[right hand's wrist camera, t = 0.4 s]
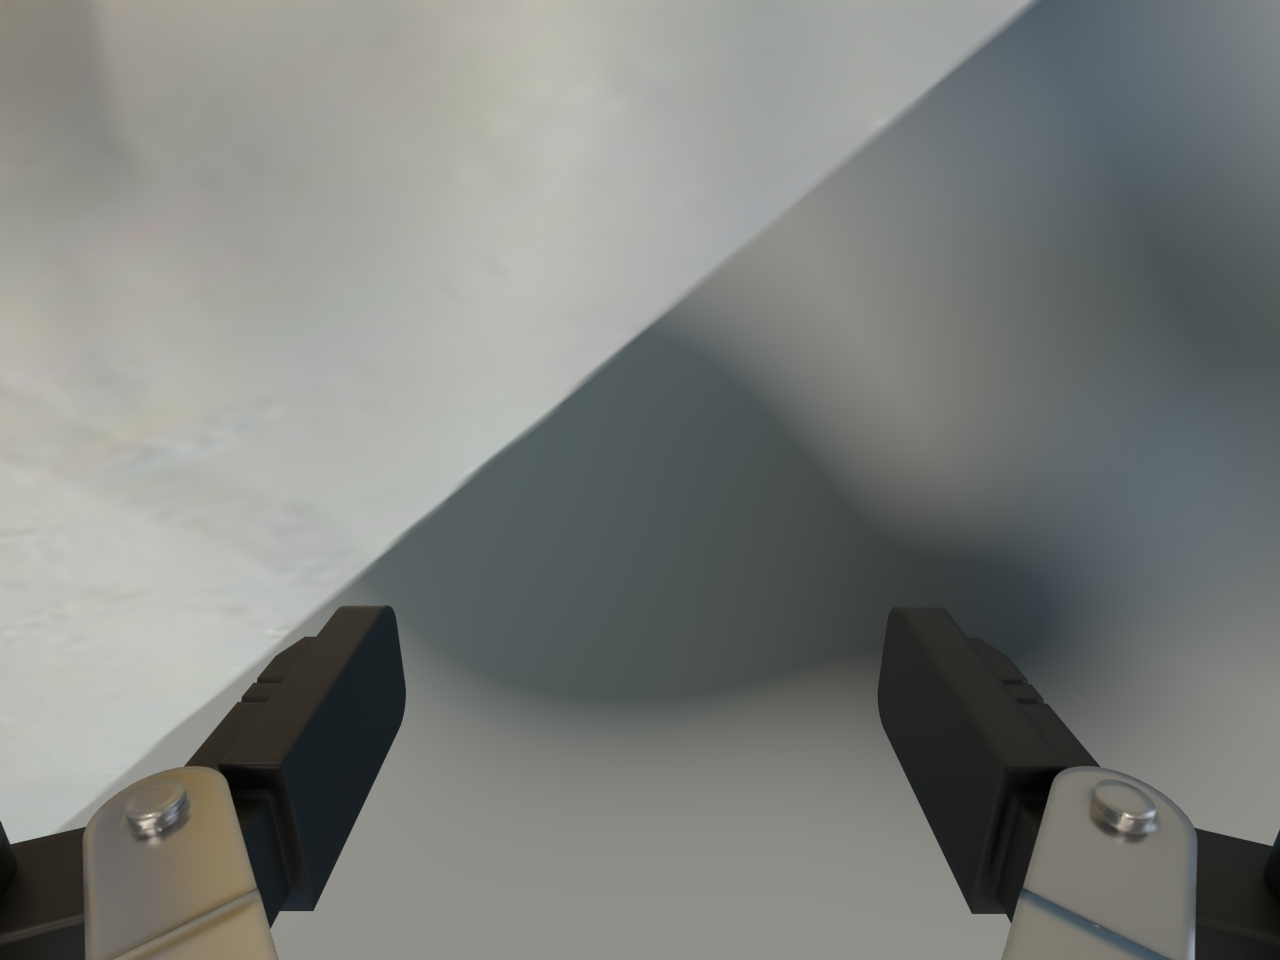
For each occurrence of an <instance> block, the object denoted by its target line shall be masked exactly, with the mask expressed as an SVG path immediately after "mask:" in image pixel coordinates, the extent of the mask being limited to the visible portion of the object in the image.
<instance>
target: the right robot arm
mask: <svg viewBox="0 0 1280 960" xmlns="http://www.w3.org/2000/svg"><path fill="white" fill-rule="evenodd" d="M405 701H406V688H405V679H404V672H403V665H402V658H401V651H400V643H399V636H398V629H397V622H396V616H395V613H394V611H393V609H392V607H390V606H341V607H339V608H338V609H337V611H336V612H335V613H334V615H333V616H332V617H331V618H330V620H329V621H328V622H327V624H326V625H325V626H324V627H323V629H322V630H321V631H320V633H319V634H318V635H317V636H316V637H304V638H302V639H301V640H299V641H298V642H296V643H295V644H293V645H292V646H290V647H289V648H287V649H286V650H284V651H283V652H281V653H280V654H278V655H277V656H275V658H274V659H273V660H272V661H271V662H270V664H269V665H268V666H267V667H266V668H265V670H264V671H263V672H262V673H261V675H260V676H259V677H258V678H257V683H253V684H252V685H251V687H250V688H249V689H248V690H247V691H246V693H245V694H244V695H243V696H242V700H241V702H237V703H236V705H235V706H234V707H233V708H232V709H231V711H230V712H229V713H228V714H227V715H226V717H225V718H224V719H223V720H222V721H221V723H220V724H219V725H218V726H217V728H216V729H215V730H214V731H213V732H212V734H211V735H210V736H209V737H208V738H207V740H206V741H205V742H204V743H203V744H202V746H201V747H200V748H199V749H198V750H197V752H196V753H195V754H194V755H193V756H192V758H191V759H190V760H189V761H188V762H187V764H186V765H185V766H184V767H179V768H174V769H170V770H165V771H162V772H159V773H156V774H153V775H151V776H148V777H146V778H144V779H141V780H139V781H138V782H136V783H134V784H132V785H130V786H128V787H127V788H125V789H123V790H122V791H120V792H119V793H117V794H116V795H115V796H113V797H112V798H111V799H109V800H108V801H107V802H106V803H105V804H104V805H103V806H102V807H101V808H99V810H98V811H97V812H96V813H95V814H94V815H93V817H92V818H91V820H90V821H89V823H88V824H87V826H86V827H83V828H79V829H75V830H71V831H66V832H62V833H58V834H53V835H49V836H45V837H40V838H36V839H32V840H27V841H23V842H19V843H15V844H10V843H9V840H8V838H7V835H6V833H5V831H4V828H3V826H2V823H1V821H0V960H279V959H278V955H277V952H276V948H275V945H274V941H273V938H272V934H271V931H270V929H271V927H272V925H273V923H274V921H275V919H276V917H277V915H278V913H279V911H314V908H315V906H316V904H317V902H318V900H319V898H320V896H321V894H322V891H323V889H324V887H325V885H326V883H327V881H328V879H329V876H330V874H331V872H332V870H333V868H334V866H335V864H336V862H337V860H338V857H339V855H340V853H341V851H342V849H343V847H344V845H345V843H346V840H347V838H348V836H349V834H350V832H351V830H352V828H353V826H354V824H355V821H356V819H357V817H358V815H359V813H360V811H361V809H362V806H363V804H364V802H365V800H366V798H367V796H368V794H369V792H370V789H371V787H372V785H373V783H374V781H375V779H376V777H377V775H378V773H379V770H380V768H381V766H382V764H383V762H384V760H385V758H386V756H387V753H388V751H389V749H390V747H391V745H392V743H393V741H394V739H395V736H396V734H397V732H398V730H399V728H400V725H401V722H402V719H403V715H404V710H405ZM878 707H879V713H880V718H881V722H882V725H883V728H884V730H885V732H886V734H887V736H888V739H889V741H890V743H891V745H892V747H893V749H894V751H895V753H896V755H897V757H898V760H899V762H900V764H901V766H902V768H903V770H904V772H905V774H906V776H907V778H908V780H909V783H910V785H911V787H912V789H913V791H914V793H915V795H916V797H917V799H918V801H919V804H920V806H921V808H922V810H923V812H924V814H925V816H926V818H927V820H928V822H929V825H930V827H931V829H932V831H933V833H934V835H935V837H936V839H937V841H938V843H939V846H940V848H941V850H942V852H943V854H944V856H945V858H946V860H947V862H948V864H949V866H950V869H951V871H952V873H953V875H954V877H955V879H956V881H957V883H958V885H959V887H960V889H961V892H962V894H963V896H964V898H965V900H966V902H967V904H968V906H969V908H970V911H971V913H972V914H1007V916H1008V918H1009V920H1010V922H1011V927H1010V931H1009V934H1008V938H1007V941H1006V945H1005V948H1004V952H1003V955H1002V959H1001V960H1280V830H1279V833H1278V835H1277V838H1276V840H1275V842H1274V845H1273V846H1269V845H1265V844H1260V843H1256V842H1252V841H1247V840H1243V839H1239V838H1235V837H1230V836H1226V835H1222V834H1217V833H1213V832H1209V831H1205V830H1201V829H1197V828H1194V826H1193V824H1192V823H1191V821H1190V820H1189V818H1188V817H1187V815H1186V814H1185V813H1184V812H1183V811H1182V810H1181V808H1179V807H1178V806H1177V805H1176V804H1175V803H1174V802H1173V801H1172V800H1171V799H1169V798H1168V797H1167V796H1165V795H1164V794H1163V793H1161V792H1160V791H1158V790H1157V789H1155V788H1153V787H1152V786H1150V785H1148V784H1146V783H1144V782H1142V781H1141V780H1139V779H1136V778H1134V777H1131V776H1129V775H1127V774H1124V773H1121V772H1118V771H1115V770H1110V769H1106V768H1101V767H1100V766H1099V765H1098V763H1097V762H1096V761H1095V760H1094V759H1093V758H1092V756H1091V755H1090V754H1089V753H1088V752H1087V750H1086V749H1085V748H1084V747H1083V746H1082V744H1081V743H1080V742H1079V741H1078V740H1077V738H1076V737H1075V736H1074V735H1073V734H1072V732H1071V731H1070V730H1069V729H1068V728H1067V726H1066V725H1065V724H1064V723H1063V722H1062V720H1061V719H1060V718H1059V717H1058V716H1057V715H1056V713H1055V712H1054V711H1053V710H1052V709H1051V707H1050V706H1049V705H1048V704H1044V702H1043V698H1042V697H1041V695H1040V694H1039V693H1038V692H1037V691H1036V689H1035V688H1034V687H1033V686H1032V685H1028V682H1027V679H1026V678H1025V676H1024V675H1023V674H1022V673H1021V672H1020V670H1019V669H1018V668H1017V667H1016V666H1015V664H1014V663H1013V662H1012V661H1011V660H1010V658H1009V657H1007V656H1006V655H1004V654H1003V653H1001V652H1000V651H998V650H997V649H995V648H994V647H992V646H991V645H989V644H987V643H986V642H984V641H983V640H981V639H980V638H968V637H967V636H966V635H965V633H964V632H963V631H962V630H961V628H960V627H959V626H958V624H957V623H956V622H955V621H954V619H953V618H952V617H951V615H950V614H949V613H948V612H947V611H946V609H944V608H943V607H894V608H893V609H892V610H891V611H890V614H889V617H888V621H887V628H886V635H885V642H884V649H883V656H882V664H881V671H880V678H879V685H878Z"/></svg>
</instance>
